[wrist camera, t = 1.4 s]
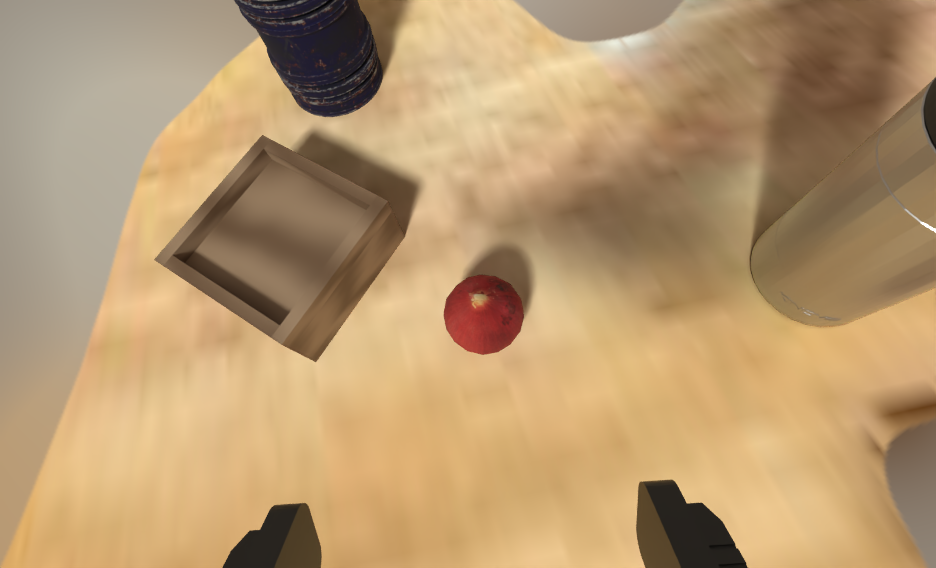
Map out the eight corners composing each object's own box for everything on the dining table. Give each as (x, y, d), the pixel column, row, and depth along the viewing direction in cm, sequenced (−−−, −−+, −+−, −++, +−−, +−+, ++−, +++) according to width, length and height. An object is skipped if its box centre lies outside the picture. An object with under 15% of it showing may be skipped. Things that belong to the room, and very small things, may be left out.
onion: (495, 281, 40) (492, 239, 32) (536, 336, 38) (543, 305, 30) (437, 318, 39) (420, 285, 32) (475, 377, 37) (467, 356, 30)
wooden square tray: (295, 178, 45) (262, 135, 39) (405, 238, 42) (387, 200, 36) (205, 288, 42) (154, 259, 36) (317, 362, 39) (281, 344, 33)
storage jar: (380, 35, 51) (330, -126, 37) (388, 107, 47) (336, -41, 33) (289, 52, 51) (206, -102, 37) (290, 125, 47) (199, -15, 33)
